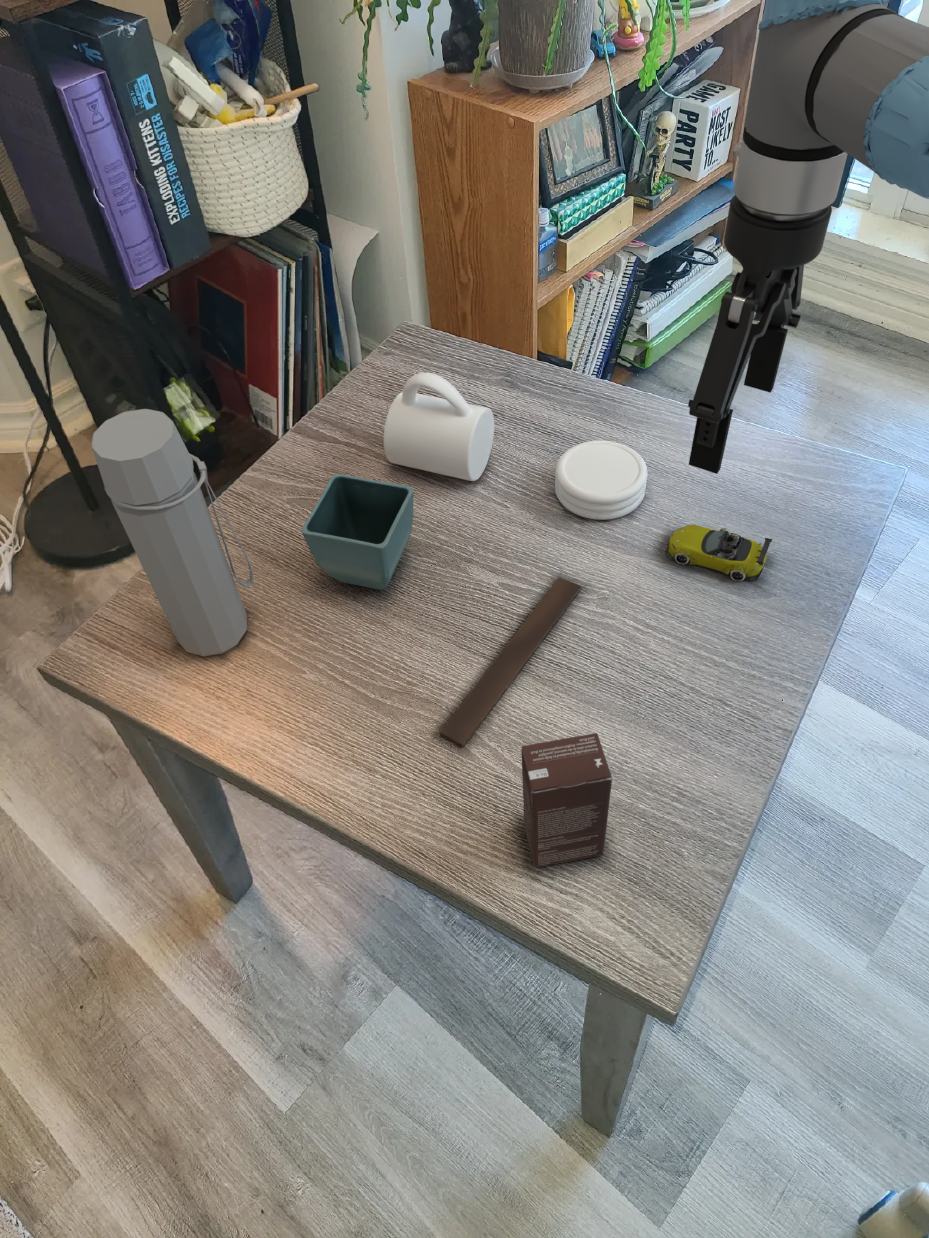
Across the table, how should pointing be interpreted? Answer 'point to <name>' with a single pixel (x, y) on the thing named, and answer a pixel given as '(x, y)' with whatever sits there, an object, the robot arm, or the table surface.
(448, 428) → the mug
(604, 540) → the table surface
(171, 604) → the water bottle
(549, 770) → the box
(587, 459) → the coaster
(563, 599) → the ruler
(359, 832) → the table surface
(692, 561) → the sports car
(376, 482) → the flower pot
